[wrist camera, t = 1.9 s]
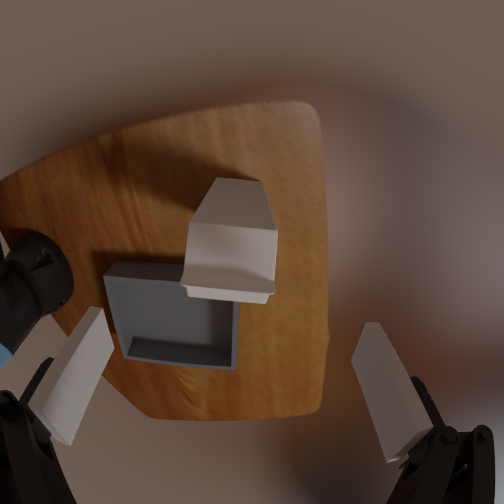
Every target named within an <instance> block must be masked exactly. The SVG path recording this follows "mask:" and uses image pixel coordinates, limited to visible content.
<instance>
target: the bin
mask: <svg viewBox="0 0 504 504" xmlns="http://www.w3.org/2000/svg"><path fill="white" fill-rule="evenodd" d="M183 272H184V265H183V264H167V263H151V262H136V261H122V260H116V261H115V262H114V263H113V264H112V266H111V267H110V268H109V269H108V270H107V271H106V273H105V274H104V275H103V278H104V283H105V287H106V292H107V297H108V301H109V305H110V309H111V313H112V317H113V321H114V325H115V329H116V332H117V336H118V339H119V343H120V346H121V350H122V353H123V356H124V358H126V359H132V360H138V361H145V362H152V363H159V364H167V365H176V366H185V367H196V368H208V369H222V370H236V361H237V341H238V322H239V303H240V302H238V301H227V300H216V299H206V298H197V297H189V296H188V294H187V290H186V287H184V286H182V285H181V284H180V280H181V278H182V275H183Z"/></svg>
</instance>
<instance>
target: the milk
mask: <svg viewBox="0 0 504 504" xmlns="http://www.w3.org/2000/svg"><path fill="white" fill-rule="evenodd" d="M277 238H278V230H277V227H276V224H275V221H274V218H273V214H272V211H271V208H270V205H269V202H268V199H267V196H266V193H265V190H264V187H263V183H262V182H261V181H252V180H242V179H232V178H221V177H217V178H216V180H215V181H214V183H213V184H212V186H211V188H210V189H209V191H208V192H207V194H206V196H205V197H204V199H203V201H202V202H201V204H200V206H199V207H198V209H197V211H196V212H195V214H194V216H193V217H192V219H191V221H190V223H189V227H188V236H187V244H186V253H185V262H184V272H183V275H182V278H181V280H180V284H181V285H182V286H184V287H186V290H187V294H188V296H189V297H197V298H206V299H216V300H227V301H238V302H249V303H262V304H266V302H267V300H268V297H269V295H272V294H274V293H275V291H276V290H275V284H274V276H275V264H276V251H277Z"/></svg>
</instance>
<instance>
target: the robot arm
mask: <svg viewBox="0 0 504 504" xmlns="http://www.w3.org/2000/svg"><path fill="white" fill-rule="evenodd" d="M73 285H74V284H73V276H72V271H71V268H70V266H69V263H68V261H67V259H66V257H65V256H64V254H63V252H62V251H61V250H60V248H59V247H58V246H57V245H56V244H55V243H54V242H53V241H52V240H51V239H50V238H48V237H47V236H45V235H43V234H40V233H36V232H31V233H28V234H26V235H24V236H23V237H21V238H20V239H18V240H17V241H16V242H15V244H14V245H13V247H12V248H11V250H10V251H9V253H8V255H7V256H6V258H4V254H3V251H2V246H1V242H0V369H2V368H3V366H4V365H5V364H6V363H7V362H8V360H9V359H11V358H12V357H13V355H14V353H15V352H16V350H17V349H18V348H19V346H20V345H21V343H22V342H23V341H24V339H25V338H26V337H27V335H28V334H29V333H30V331H31V330H32V329H33V327H34V326H35V325H36V324H37V322H38V321H39V320H40V319H41V318H42V317H44V316H46V315H48V314H51V313H53V312H55V311H57V310H59V309H60V308H62V307H63V306H64V305H65V304H66V303H67V301H68V300H69V299H70V297H71V295H72V293H73ZM113 350H114V345H113V342H112V339H111V336H110V332H109V329H108V325H107V322H106V318H105V314H104V311H103V308H98V307H92V306H90V308H89V309H88V310H87V312H86V313H85V315H84V316H83V317H82V319H81V320H80V322H79V323H78V325H77V326H76V327H75V329H74V330H73V332H72V333H71V335H70V336H69V338H68V339H67V341H66V342H65V344H64V345H63V347H62V348H61V350H60V351H59V353H58V354H57V356H56V357H55V359H54V358H51V357H49V358H48V359H46V360H45V361H44V362H43V363H42V364H41V365H40V366H39V368H38V370H37V371H36V373H35V374H34V376H33V379H31V381H30V383H29V384H28V386H27V387H26V389H25V391H24V393H23V395H22V396H21V398H20V400H19V401H18V400H17V399H16V397H15V396H14V395H13V394H12V393H11V392H10V391H8V390H2V391H0V504H77V503H76V501H75V499H74V497H73V495H72V493H71V491H70V488H69V486H68V484H67V481H66V479H65V477H64V474H63V472H62V469H61V467H60V464H59V461H58V459H57V456H56V453H55V450H54V447H53V444H52V442H51V440H50V436H51V434H52V435H53V436H54V437H55V438H56V439H57V440H58V441H60V442H62V443H65V444H67V445H70V446H71V445H72V442H73V440H74V437H75V434H76V432H77V429H78V427H79V424H80V422H81V420H82V417H83V415H84V412H85V410H86V408H87V405H88V403H89V401H90V399H91V396H92V394H93V392H94V389H95V387H96V385H97V383H98V381H99V379H100V376H101V374H102V372H103V370H104V368H105V366H106V364H107V362H108V360H109V358H110V356H111V354H112V352H113ZM351 362H352V365H353V367H354V370H355V372H356V375H357V378H358V381H359V383H360V386H361V389H362V391H363V394H364V397H365V400H366V403H367V405H368V408H369V411H370V414H371V417H372V420H373V423H374V426H375V429H376V431H377V434H378V438H379V441H380V444H381V447H382V450H383V453H384V456H385V459H386V462H391V461H394V460H398V459H401V458H402V457H403V456H404V455H406V454H407V453H408V455H409V458H408V459H407V460H406V461H405V462H404V463H403V464H401V466H400V467H399V469H401V468H402V467H404V468H403V471H402V473H401V475H400V477H399V479H398V482H397V484H396V486H395V488H394V490H393V492H392V494H391V495H390V497H389V499H388V501H387V503H386V504H494V498H495V453H494V440H493V434H492V431H491V430H490V428H488V427H487V426H485V425H478V426H477V427H476V428H474V430H473V431H472V432H457V431H456V429H454V428H453V427H451V426H445V424H444V422H443V420H442V418H441V416H440V414H439V412H438V410H437V408H436V406H435V404H434V402H433V400H431V399H432V398H431V396H430V394H428V391H427V389H426V387H425V385H424V383H422V381H421V380H419V379H418V378H417V377H410V378H409V376H408V374H407V372H406V370H405V368H404V367H403V365H402V363H401V361H400V359H399V357H398V355H397V354H396V352H395V350H394V348H393V346H392V344H391V343H390V341H389V339H388V337H387V336H386V334H385V332H384V331H383V329H382V327H381V325H380V324H379V322H371V323H366V324H365V326H364V329H363V332H362V334H361V337H360V340H359V342H358V345H357V347H356V350H355V352H354V355H353V357H352V360H351ZM466 465H467V468H466Z"/></svg>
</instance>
